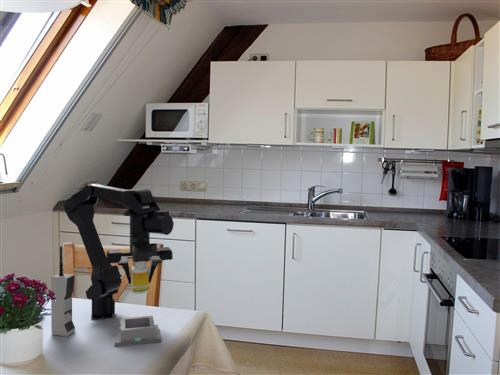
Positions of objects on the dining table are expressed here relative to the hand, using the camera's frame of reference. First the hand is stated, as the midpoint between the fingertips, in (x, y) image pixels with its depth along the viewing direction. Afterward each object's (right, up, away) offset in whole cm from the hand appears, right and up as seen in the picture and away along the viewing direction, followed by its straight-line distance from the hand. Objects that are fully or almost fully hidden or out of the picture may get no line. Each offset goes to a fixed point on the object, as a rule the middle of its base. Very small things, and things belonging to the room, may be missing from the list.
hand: (139, 283), depth 129 cm
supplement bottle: (0, -3, 0) cm, 3 cm away
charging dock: (+1, -13, -8) cm, 16 cm away
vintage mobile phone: (-20, -13, -7) cm, 25 cm away
